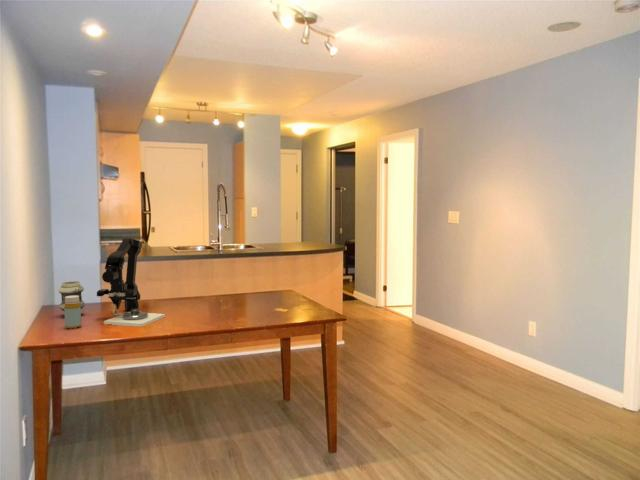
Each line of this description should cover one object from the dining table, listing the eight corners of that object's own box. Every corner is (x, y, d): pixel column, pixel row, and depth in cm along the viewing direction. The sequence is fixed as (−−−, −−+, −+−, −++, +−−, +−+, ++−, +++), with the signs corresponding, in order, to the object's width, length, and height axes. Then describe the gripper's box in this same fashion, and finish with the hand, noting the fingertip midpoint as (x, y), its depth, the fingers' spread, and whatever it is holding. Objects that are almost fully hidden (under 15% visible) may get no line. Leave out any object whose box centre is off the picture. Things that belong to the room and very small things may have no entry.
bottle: (70, 329, 234) (69, 298, 233) (62, 327, 238) (60, 297, 237) (84, 326, 240) (83, 296, 239) (75, 324, 244) (74, 294, 243)
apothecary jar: (60, 314, 266) (59, 281, 264) (85, 312, 270) (84, 279, 269) (58, 319, 255) (56, 284, 253) (84, 317, 259) (83, 283, 258)
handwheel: (151, 314, 258) (151, 301, 258) (142, 319, 246) (141, 306, 246) (116, 313, 259) (116, 301, 259) (105, 319, 247) (105, 306, 247)
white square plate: (103, 324, 245) (103, 321, 245) (129, 314, 265) (129, 311, 265) (141, 326, 240) (141, 323, 240) (164, 316, 261) (164, 314, 260)
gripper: (140, 276, 262) (141, 305, 264) (105, 276, 262) (106, 305, 264) (132, 280, 251) (133, 310, 253) (95, 280, 251) (96, 310, 253)
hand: (117, 309), depth 256 cm, fingers closed
